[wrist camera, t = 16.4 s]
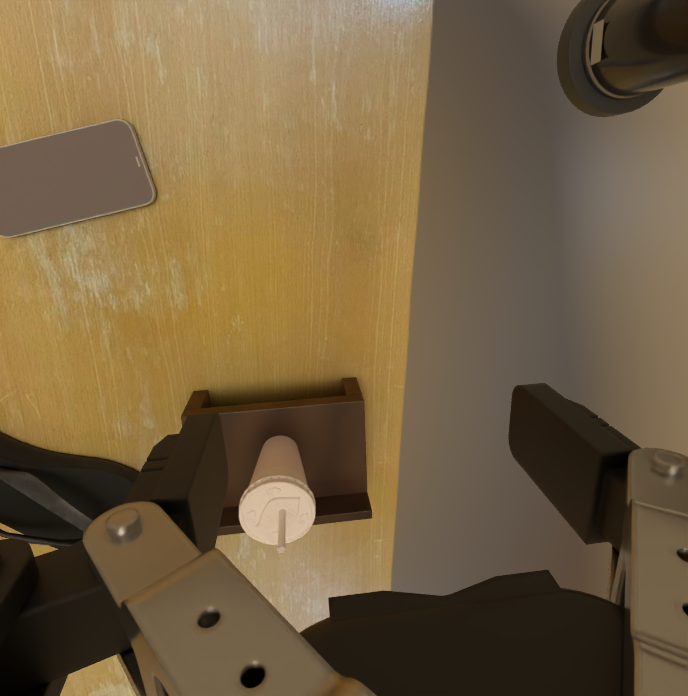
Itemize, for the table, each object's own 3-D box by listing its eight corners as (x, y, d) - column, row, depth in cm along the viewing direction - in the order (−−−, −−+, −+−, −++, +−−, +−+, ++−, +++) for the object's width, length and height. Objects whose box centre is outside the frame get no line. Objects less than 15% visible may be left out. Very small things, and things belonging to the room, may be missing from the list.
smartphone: (-43, 155, 39) (127, 115, 40) (-36, 156, 40) (130, 116, 40) (-2, 241, 42) (157, 202, 42) (4, 240, 43) (160, 202, 43)
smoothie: (324, 452, 47) (337, 554, 34) (277, 489, 48) (272, 602, 35) (282, 411, 45) (279, 502, 32) (234, 450, 46) (212, 554, 33)
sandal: (-109, 381, 46) (-173, 411, 39) (192, 477, 53) (178, 515, 47) (-130, 481, 49) (-192, 523, 43) (156, 558, 56) (139, 604, 50)
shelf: (356, 377, 51) (369, 414, 43) (359, 468, 55) (372, 518, 47) (193, 391, 50) (172, 432, 41) (208, 483, 54) (193, 538, 45)
